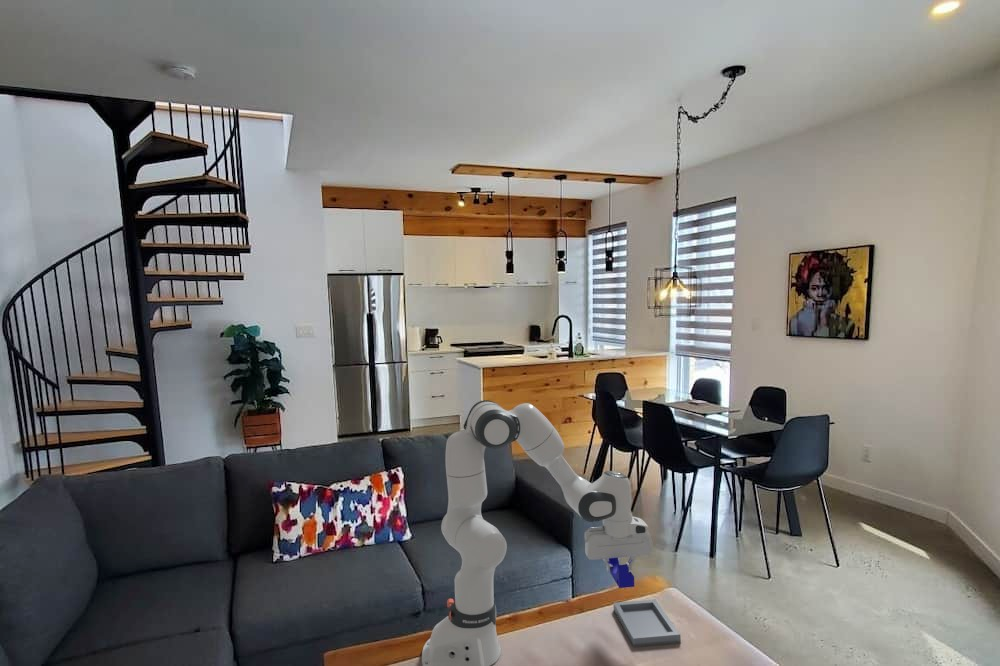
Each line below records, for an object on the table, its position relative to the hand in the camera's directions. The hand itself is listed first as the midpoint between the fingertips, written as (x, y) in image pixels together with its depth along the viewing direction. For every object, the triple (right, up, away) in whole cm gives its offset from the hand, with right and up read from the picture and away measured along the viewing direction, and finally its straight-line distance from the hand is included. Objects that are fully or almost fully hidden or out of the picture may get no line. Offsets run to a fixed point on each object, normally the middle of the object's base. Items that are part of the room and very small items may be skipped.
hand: (619, 570), depth 148 cm
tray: (+8, -18, +1) cm, 19 cm away
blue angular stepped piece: (0, -2, 0) cm, 2 cm away
